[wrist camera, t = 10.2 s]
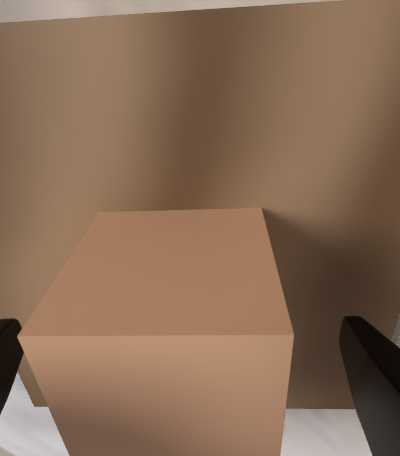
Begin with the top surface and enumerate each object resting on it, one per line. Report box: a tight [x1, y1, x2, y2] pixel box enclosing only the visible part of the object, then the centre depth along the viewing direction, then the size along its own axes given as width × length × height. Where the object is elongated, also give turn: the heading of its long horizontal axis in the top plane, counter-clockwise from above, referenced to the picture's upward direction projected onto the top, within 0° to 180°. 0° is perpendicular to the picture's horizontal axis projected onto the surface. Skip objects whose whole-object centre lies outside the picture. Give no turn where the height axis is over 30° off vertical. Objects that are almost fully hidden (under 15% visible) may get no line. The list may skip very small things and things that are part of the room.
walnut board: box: [0, 0, 400, 409], centre depth 12 cm, size 15×15×1 cm
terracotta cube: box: [17, 208, 294, 456], centre depth 10 cm, size 5×5×5 cm
